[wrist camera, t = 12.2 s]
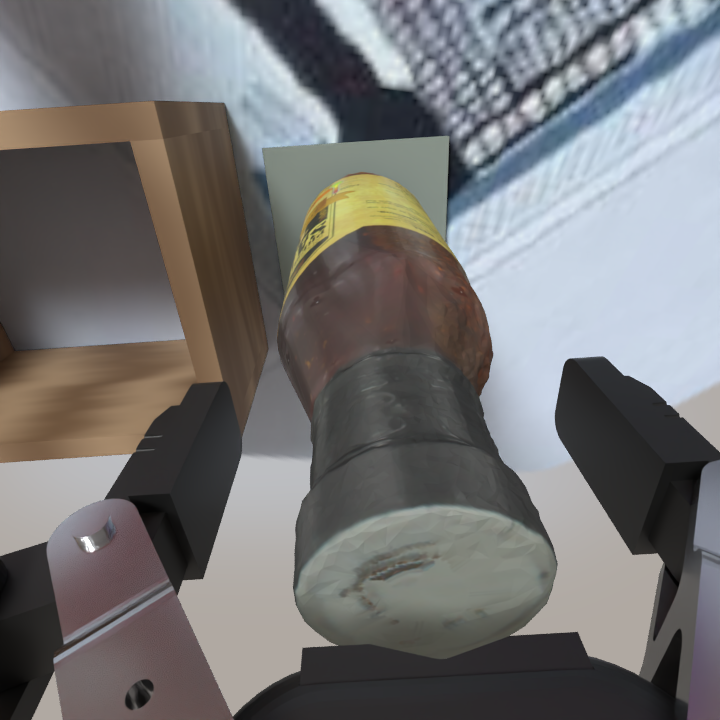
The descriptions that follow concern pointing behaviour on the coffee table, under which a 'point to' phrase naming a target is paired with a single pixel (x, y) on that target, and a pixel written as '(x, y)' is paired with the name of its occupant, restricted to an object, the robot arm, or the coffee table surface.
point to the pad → (334, 161)
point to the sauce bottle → (401, 437)
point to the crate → (186, 276)
